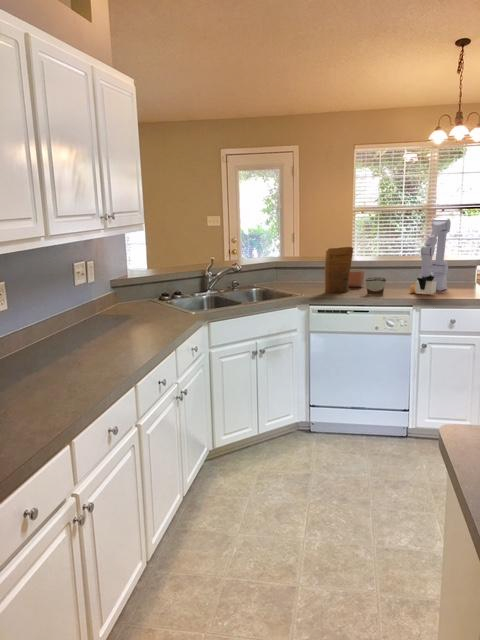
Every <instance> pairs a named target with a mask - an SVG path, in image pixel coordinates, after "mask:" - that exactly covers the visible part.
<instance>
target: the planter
mask: <svg viewBox="0 0 480 640" xmlns="http://www.w3.org/2000/svg"><path fill="white" fill-rule="evenodd" d="M365 273H366V271H365V270H364V269H361V268H360V269H358V268H357V269H356V268H354V269H353V268H352V269H351V268H350V272H349V282H348V288H354V289H355V288H357V289H358V288H360V287H362V286H363V285H364V283H365V276H366V275H365Z"/></svg>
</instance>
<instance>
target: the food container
mask: <svg viewBox="0 0 480 640" xmlns="http://www.w3.org/2000/svg"><path fill="white" fill-rule="evenodd" d="M365 282H366V295H367V296H384V292H385V285H386V284H385V283H387V279H386V277H381V276H380V277H379V276H377V277H376V276H370V277H366V278H365V279H364V283H365Z"/></svg>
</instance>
